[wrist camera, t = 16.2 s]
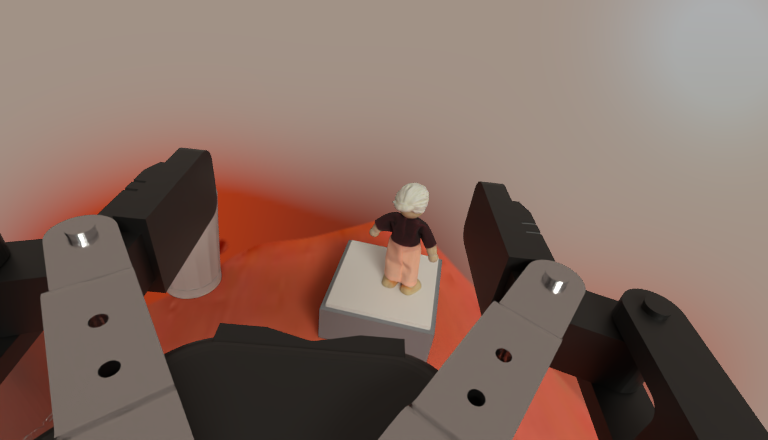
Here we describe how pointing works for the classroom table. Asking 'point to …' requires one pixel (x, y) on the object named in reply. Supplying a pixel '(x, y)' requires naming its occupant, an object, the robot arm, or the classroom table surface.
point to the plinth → (380, 301)
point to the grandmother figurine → (406, 238)
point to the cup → (200, 266)
